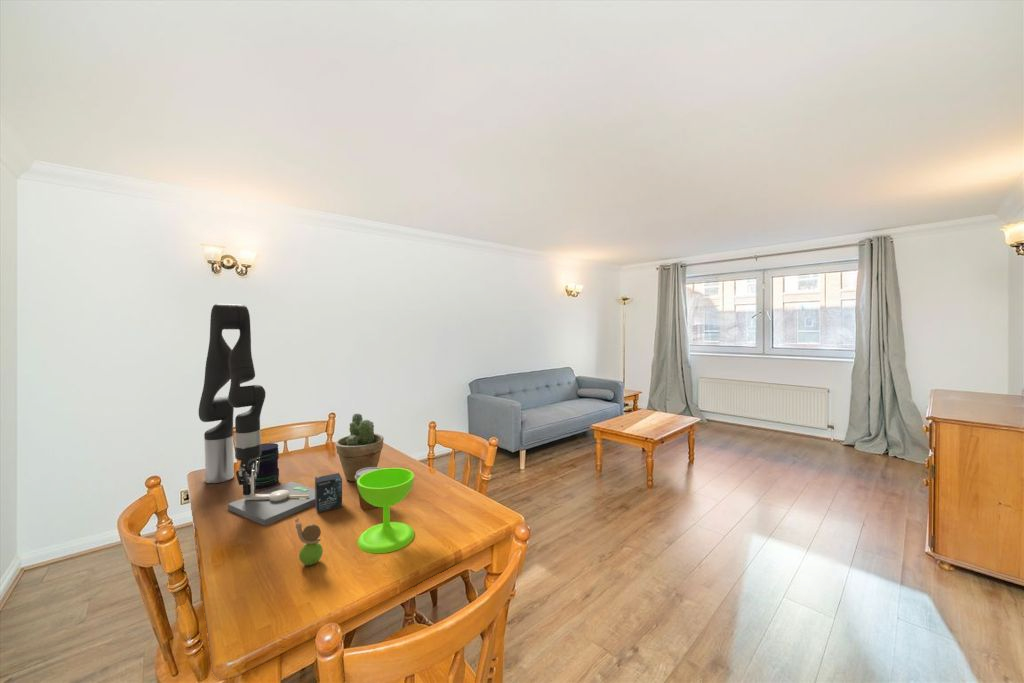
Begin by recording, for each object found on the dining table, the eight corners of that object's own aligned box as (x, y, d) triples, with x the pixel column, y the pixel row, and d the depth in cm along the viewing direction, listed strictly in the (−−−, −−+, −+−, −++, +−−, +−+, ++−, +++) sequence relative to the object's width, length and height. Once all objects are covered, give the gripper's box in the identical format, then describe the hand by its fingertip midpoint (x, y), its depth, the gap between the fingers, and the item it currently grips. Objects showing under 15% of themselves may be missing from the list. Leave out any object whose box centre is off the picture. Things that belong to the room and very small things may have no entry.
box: (317, 513, 130) (316, 482, 130) (315, 507, 135) (314, 476, 134) (342, 507, 134) (342, 477, 134) (339, 501, 139) (339, 472, 139)
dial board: (227, 509, 132) (227, 503, 132) (291, 486, 152) (291, 480, 151) (264, 526, 122) (264, 519, 122) (328, 499, 141) (327, 492, 141)
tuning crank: (312, 493, 140) (312, 471, 140) (305, 500, 134) (304, 477, 134) (249, 495, 139) (249, 472, 138) (239, 502, 133) (238, 479, 132)
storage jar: (282, 478, 160) (281, 442, 159) (275, 487, 150) (275, 449, 150) (253, 481, 157) (253, 444, 156) (245, 491, 147) (244, 451, 147)
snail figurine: (301, 558, 105) (300, 514, 105) (325, 556, 106) (325, 513, 105) (291, 570, 100) (290, 524, 99) (317, 569, 100) (317, 523, 100)
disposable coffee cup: (390, 502, 138) (389, 468, 138) (369, 514, 130) (369, 478, 129) (369, 497, 142) (369, 464, 142) (348, 508, 134) (348, 473, 133)
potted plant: (393, 474, 165) (392, 415, 164) (354, 489, 149) (354, 424, 148) (365, 465, 174) (364, 410, 173) (326, 479, 159) (325, 418, 158)
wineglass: (356, 530, 120) (355, 472, 119) (410, 520, 126) (409, 464, 125) (358, 558, 105) (357, 492, 104) (418, 545, 111) (418, 483, 110)
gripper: (244, 437, 141) (246, 484, 142) (225, 450, 127) (227, 502, 128) (268, 436, 142) (269, 483, 143) (251, 449, 129) (253, 500, 130)
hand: (249, 492), depth 136 cm, fingers closed on tuning crank, 3 cm apart
